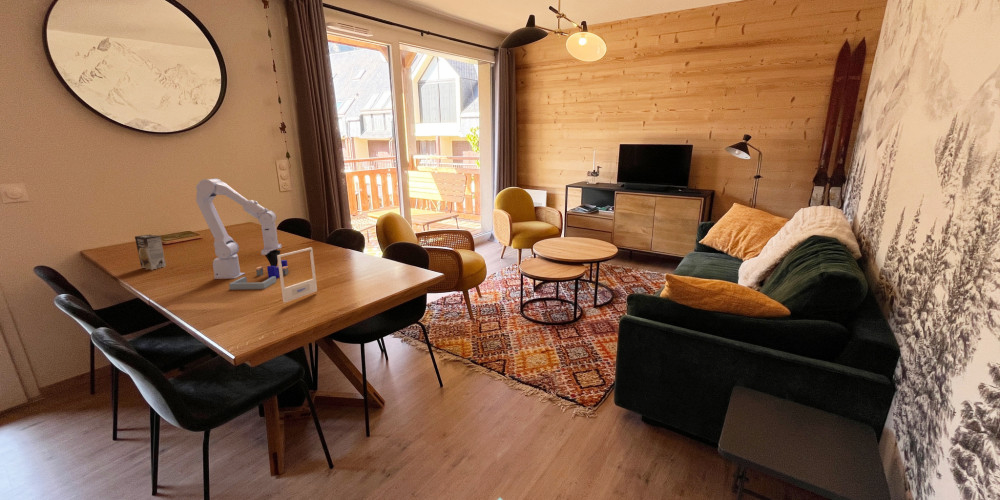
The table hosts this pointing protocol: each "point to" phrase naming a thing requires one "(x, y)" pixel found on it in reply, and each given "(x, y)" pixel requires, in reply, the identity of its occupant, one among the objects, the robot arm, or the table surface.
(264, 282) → the grey bent bracket
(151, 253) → the coffee box
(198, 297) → the table surface
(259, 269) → the posts
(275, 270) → the blue stepped bar
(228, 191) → the robot arm
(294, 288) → the photo frame
